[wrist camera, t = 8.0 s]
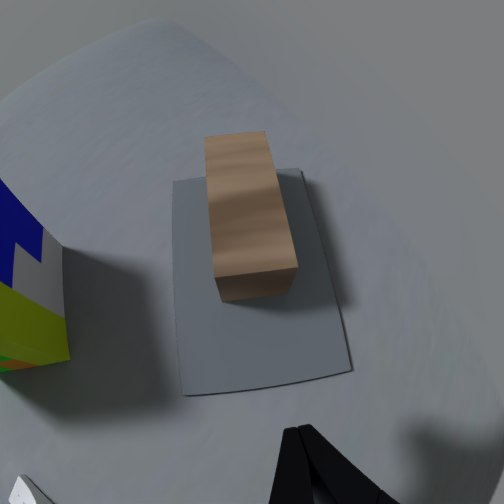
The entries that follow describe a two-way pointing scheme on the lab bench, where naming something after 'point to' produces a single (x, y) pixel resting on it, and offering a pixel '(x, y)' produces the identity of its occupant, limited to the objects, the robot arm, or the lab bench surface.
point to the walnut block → (247, 219)
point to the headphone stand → (27, 493)
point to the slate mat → (252, 305)
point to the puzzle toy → (29, 290)
